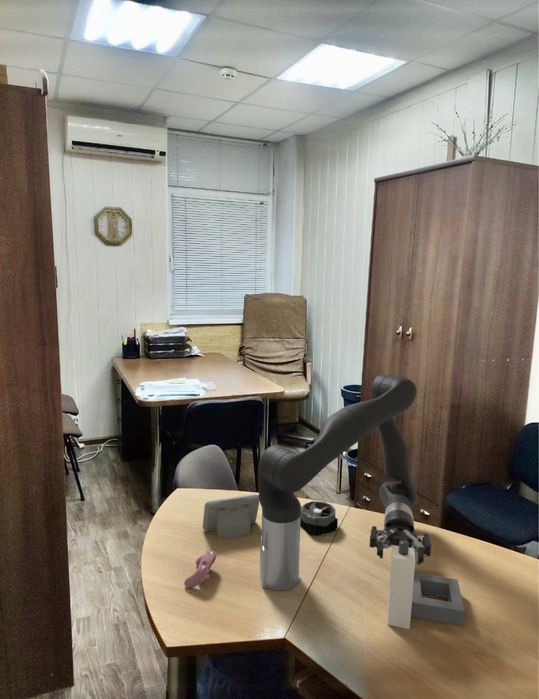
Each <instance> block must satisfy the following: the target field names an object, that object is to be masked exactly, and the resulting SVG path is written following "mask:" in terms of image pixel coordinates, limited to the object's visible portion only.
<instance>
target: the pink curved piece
mask: <svg viewBox="0 0 539 699" xmlns="http://www.w3.org/2000/svg"><path fill="white" fill-rule="evenodd" d="M217 557H218V553H216V552H214V551H211V550H208V551H207V552H206V553H205V554H203V555H201V556H199V557H198V558H197V559H196V560H195V565H196V566H197V568H196V570H195V572H194V573H193V574H191V575H190V576H188V577H187V578H185V580H184V581H183V583H184V587H186V588H188V589H191V588H195V587H197V586H199V585H200V584H202V583H204V580H209V578H210V577H211V575H210V574H209V573H210V572H211V569H210V568H211V567H212V566H213V564H214V563H215V561H216V559H217Z"/></svg>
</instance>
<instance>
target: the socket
mask: <svg viewBox="0 0 539 699" xmlns="http://www.w3.org/2000/svg"><path fill="white" fill-rule="evenodd" d="M461 592H462V591H461V588H460V584H459V579H458V578H450V577H444V576H438V575H431V574H424V573H419V572H414V582H413V594H412V607H411V618H412V617H413V618H418V619H423V620H429V621H434V622H441V623H446V624H452V625H455V626H456V625H457V626H458V625H459V626H462V627H463V626H464V620H465V606H464V601H463V598H462V593H461ZM422 594H425V595H431V596H436V597H443V598H447V600H443V599H442V600H440V599H435V598H428V597H423V595H422Z"/></svg>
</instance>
